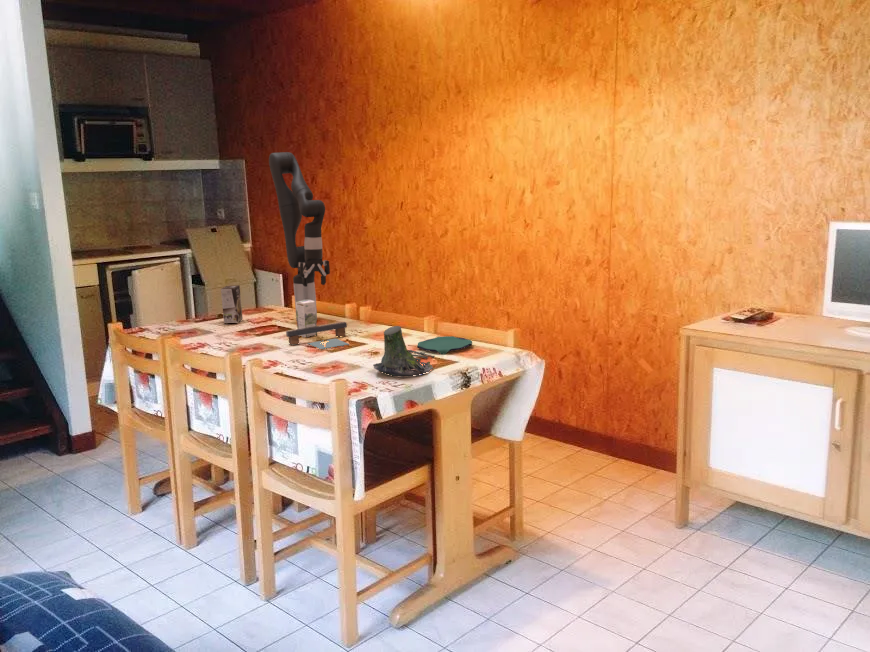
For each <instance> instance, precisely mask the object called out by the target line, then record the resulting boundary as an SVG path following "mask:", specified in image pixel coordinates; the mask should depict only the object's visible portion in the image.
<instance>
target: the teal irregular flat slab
mask: <svg viewBox="0 0 870 652" xmlns="http://www.w3.org/2000/svg"><path fill="white" fill-rule="evenodd" d="M472 345H473V340H471V339H468V338H464V337H457V336H452V335H451V336H448V335H447V336H436V337H433V338H430V339H429V338H428V339H426V340H425V339H424V340H423V341H419V342H417V346H416V348H417V349H421V350H423V351H427V352H432V353H433V352H434V353H438V354H440V355H447V353H448V352H452V351H459V350H463V349H466V348H468V347H471V346H472ZM407 351H408V352H409V353H411V354H412V355H413V357H414V358H415V359H416V360H418V362H422V360H421V358H423V359H425V360H427V359H428V358H429V357H431V358H432V359H435V358H434V357H435V355H431V354H427V353H425V352H423V351H415V350H411V349H407ZM413 352H414V354H413ZM420 354H421V355H420Z"/></svg>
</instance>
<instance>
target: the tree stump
mask: <svg viewBox="0 0 870 652" xmlns="http://www.w3.org/2000/svg"><path fill="white" fill-rule="evenodd" d="M383 340H384V344H383V345H384V350H383V351H384V352H383V353H384V354H383V356H382V357H381V362H379V363H374V364H373V369H375V370H377V371H379V372H380V373H381V372H383V373H382V374H384V373H386V374H385V375H387V374H389V375H388V376H390V375H392V376H391V377H393V376H413V375H419V374H423V373H426V372H429V371H430V370H431V369H433V370H434V368H433V365H432V364H431V361H426V362H424V361H417V360H416V359H415V358H416V357H415V356H413V355H414V354H413V353H412V352H411V353H412V354H411V353H409V351H407V350H408V348H407V346H406V343H405V339H404V336H403V329H402V326H399V325H395V326H391V327H389V328H386V329H385V330H384V331H383ZM420 363H421V364H423V366H422V365H421V364H420ZM424 364H425V365H424ZM429 373H430V372H429Z"/></svg>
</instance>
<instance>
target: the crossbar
mask: <svg viewBox="0 0 870 652" xmlns="http://www.w3.org/2000/svg"><path fill="white" fill-rule="evenodd" d="M347 324H348V323H347V322H346V321H340V322H334V323H328V324H322V325H317V326H315V327H308V328H302V329H298V328H297V329H290V330H286V331H285V334H286V337H288V338H289V337H292V336H298V335H304V334H310V333H316V332H317V333H320V332H322V333H323V332H327V331H328V332H329V331H332V330H334V331H335V329H340V328H345V329H346V328H347V326H348V325H347Z"/></svg>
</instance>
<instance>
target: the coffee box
mask: <svg viewBox="0 0 870 652" xmlns="http://www.w3.org/2000/svg"><path fill="white" fill-rule="evenodd" d="M220 294H221V295H220V296H221V308H222V317H223V324H224V323H238V322H239V321H240V322H242V321H243V320H242V319H244V318H243V309H242V299H241V288H240V285H226V286H224V287H222V288H220ZM241 320H242V321H241ZM240 322H239V323H240ZM239 323H238V324H239Z"/></svg>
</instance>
